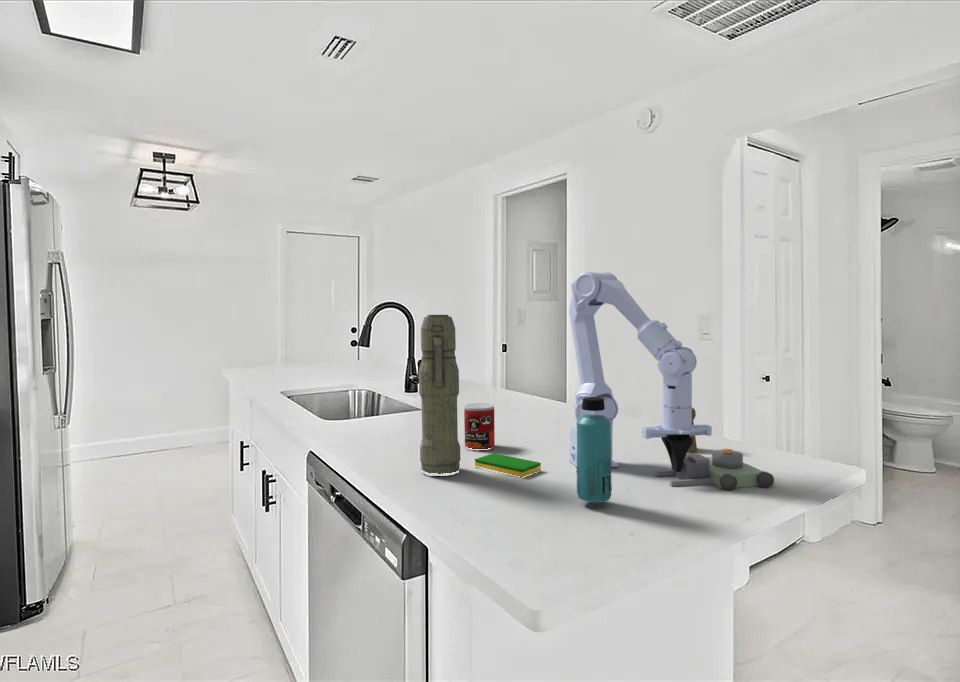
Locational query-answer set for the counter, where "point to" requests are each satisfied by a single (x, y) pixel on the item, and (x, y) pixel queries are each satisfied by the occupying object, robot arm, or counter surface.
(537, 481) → the counter surface
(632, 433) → the counter surface
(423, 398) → the olive green flashlight
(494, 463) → the dish sponge
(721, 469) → the mower deck
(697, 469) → the grey block on ledge
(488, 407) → the canned food
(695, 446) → the olive brown tapered figure
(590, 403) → the beverage bottle
